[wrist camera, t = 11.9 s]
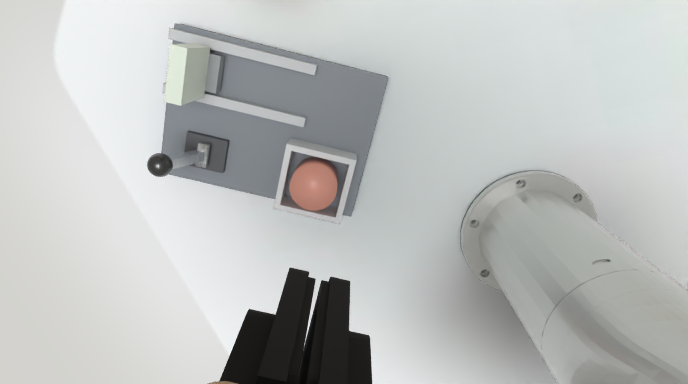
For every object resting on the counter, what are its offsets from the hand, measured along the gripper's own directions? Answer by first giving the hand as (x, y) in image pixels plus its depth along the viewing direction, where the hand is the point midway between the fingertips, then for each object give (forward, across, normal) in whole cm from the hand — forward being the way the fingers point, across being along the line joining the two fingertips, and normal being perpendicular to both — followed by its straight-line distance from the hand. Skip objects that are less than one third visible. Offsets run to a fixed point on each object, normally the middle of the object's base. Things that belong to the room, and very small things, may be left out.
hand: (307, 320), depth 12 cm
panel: (+29, +6, +1) cm, 30 cm away
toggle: (+26, +11, +5) cm, 29 cm away
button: (+27, +1, +5) cm, 28 cm away
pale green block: (+27, +12, -2) cm, 30 cm away
